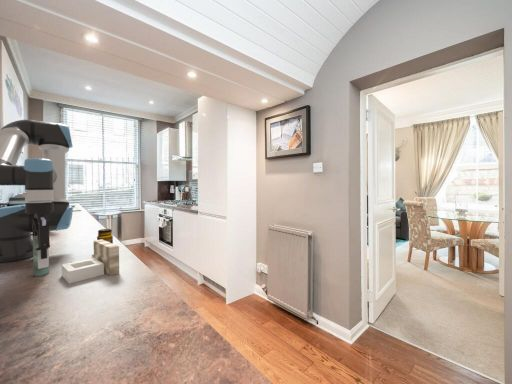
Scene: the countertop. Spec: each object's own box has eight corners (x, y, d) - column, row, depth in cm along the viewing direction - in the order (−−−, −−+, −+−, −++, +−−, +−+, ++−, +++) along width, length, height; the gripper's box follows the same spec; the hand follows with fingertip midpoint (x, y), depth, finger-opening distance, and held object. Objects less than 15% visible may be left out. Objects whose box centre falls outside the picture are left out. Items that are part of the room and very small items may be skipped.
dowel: (32, 274, 83) (31, 235, 82) (47, 271, 86) (46, 234, 85) (34, 277, 80) (33, 237, 80) (49, 273, 83) (49, 235, 83)
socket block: (61, 276, 81) (61, 264, 81) (94, 268, 89) (94, 258, 89) (68, 283, 75) (68, 271, 75) (104, 274, 83) (103, 263, 82)
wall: (93, 265, 92) (93, 240, 92) (102, 263, 94) (102, 239, 94) (110, 275, 82) (109, 247, 81) (119, 273, 84) (118, 246, 84)
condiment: (114, 256, 104) (113, 230, 104) (91, 259, 100) (90, 232, 99) (113, 252, 110) (113, 227, 110) (92, 255, 106) (91, 229, 106)
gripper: (20, 201, 86) (22, 261, 86) (29, 203, 73) (31, 274, 74) (47, 200, 92) (48, 257, 92) (60, 202, 79) (61, 268, 79)
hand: (41, 264), depth 83 cm, fingers open, 8 cm apart
